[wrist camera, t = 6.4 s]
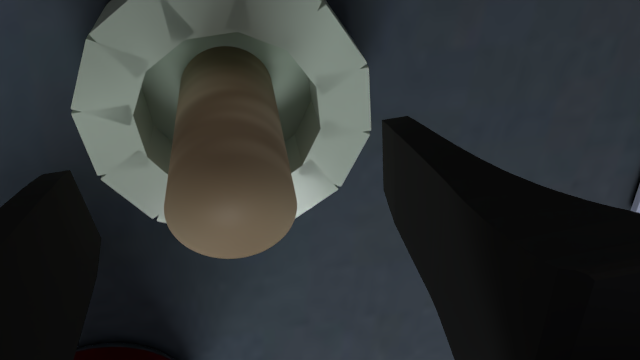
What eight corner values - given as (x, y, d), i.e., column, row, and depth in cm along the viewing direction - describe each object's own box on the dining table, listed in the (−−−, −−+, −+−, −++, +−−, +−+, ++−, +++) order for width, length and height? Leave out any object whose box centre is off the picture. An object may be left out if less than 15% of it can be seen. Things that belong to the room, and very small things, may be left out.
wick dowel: (266, 40, 15) (291, 146, 10) (277, 123, 17) (302, 248, 12) (170, 52, 15) (148, 165, 10) (190, 135, 16) (180, 267, 12)
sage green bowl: (343, -68, 14) (364, -50, 12) (357, 167, 19) (373, 208, 17) (50, -29, 14) (21, -3, 12) (139, 204, 18) (129, 251, 16)
